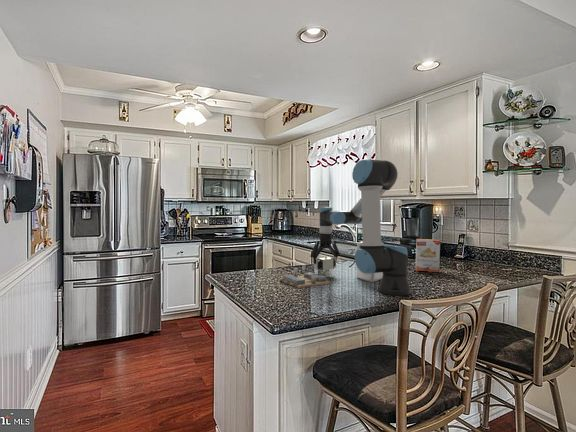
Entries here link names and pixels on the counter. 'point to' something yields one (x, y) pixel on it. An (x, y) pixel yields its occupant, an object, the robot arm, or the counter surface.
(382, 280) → the robot arm
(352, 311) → the counter surface
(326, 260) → the pneumatic valve
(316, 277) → the hinge leaves
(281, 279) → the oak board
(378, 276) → the soap dispenser
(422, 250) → the cracker box
